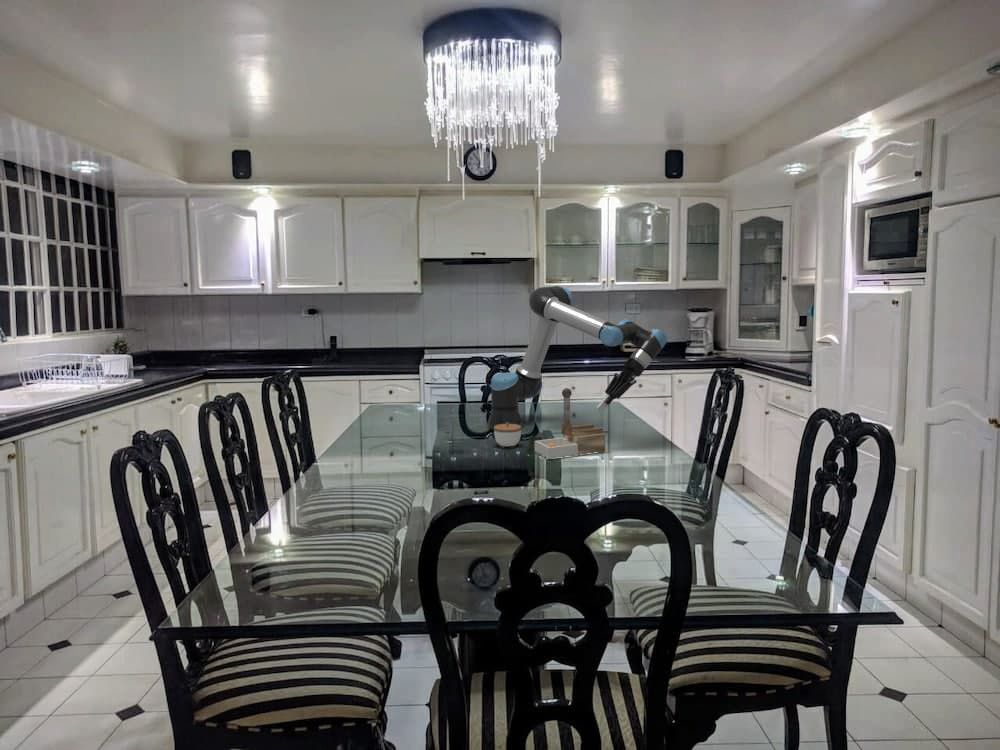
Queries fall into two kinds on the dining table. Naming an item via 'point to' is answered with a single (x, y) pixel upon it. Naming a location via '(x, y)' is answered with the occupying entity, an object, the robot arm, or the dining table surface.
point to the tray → (556, 448)
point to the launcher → (587, 438)
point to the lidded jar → (507, 434)
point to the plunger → (566, 413)
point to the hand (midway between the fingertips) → (599, 409)
